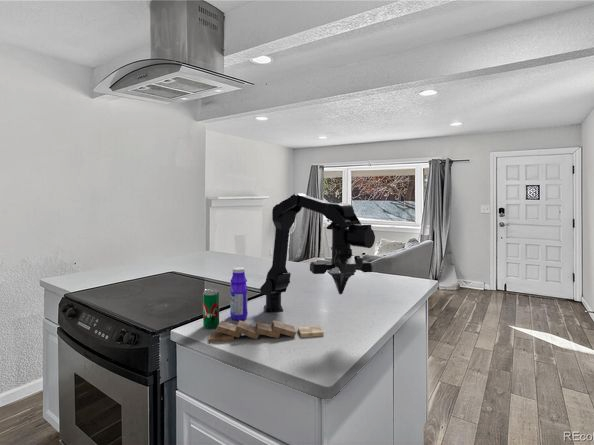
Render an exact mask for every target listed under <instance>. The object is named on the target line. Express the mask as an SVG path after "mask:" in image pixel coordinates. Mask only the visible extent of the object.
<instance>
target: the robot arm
mask: <svg viewBox="0 0 594 445" xmlns="http://www.w3.org/2000/svg"><path fill="white" fill-rule="evenodd" d="M303 208H304V209H307V210H310V211H312V212H316V213H318V214H321V215H323V216H324V217H325V218H326V219H327V220H328V221H331V222H330V224H328V225H327V226H326V230H331V232H332V233H331V234H332V235H331V247H330V250H331V259H330V263H325V262H324V261H311V262H310V264H309V271H310V272H311V273H312V274H313V275H325V273H327V274H329V275H330V276H331V277H332V279H333V282H334V284H335V287H336V290H337V293H338V295H343V293H344V290H345V288H346V285H347V282H348V281H349V279H351V277H352V276H355V273H356V272H357V270H360V271H361V272H362V273H372V272H373V265H372V262H370V261H368V260H365V259H363V256H362V255H353V250H352V248H351V247H355V248H357V247H358V248H366V249H372V247H374V244H375V241H376V235H375V232H374V230H373V229H372V225H371V224H362V223H361V221H360V219H359V218H358V216H357V214H356V213H355V209H354V207H353V205H351V204H349V203H341V202H340V203H338V202H337V203H336V202H329V201H326V200H323V199H319V198H316V197H312V196H310V195H307V194H305V193H293V194H292V195H290V197H288V198H286V199H284V200H282V201H281V202H279V203H277V204H275V205H274V206H273V207H272V210H271V216H272V217H271V218H272V219H271V220H272V223H273V226H274V227H275V231H274V232H275V234H274V243H273V254H272V261H271V262H272V264H271V267H270V268H269V270H268V272H267V273H266V274H267V275H266V279H265V281H264V283H263V284H262V286H260V288H259V289H260V290H259V291H260V294H261V295H264V296H265V305H264V306H263V307H264V311H265V312H283V311H284V309H283V306H282V293H286V292H287V288H288V287H289V284H291V272H288V271H289V270H288V269H287V267H286V265H287V257H288V246H289V239H290V238H289V236H290V229H291V228H292V226H293V225H294V224H295V220H296V216H297V214H299V213H300V212H301V211H302V209H303Z"/></svg>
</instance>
